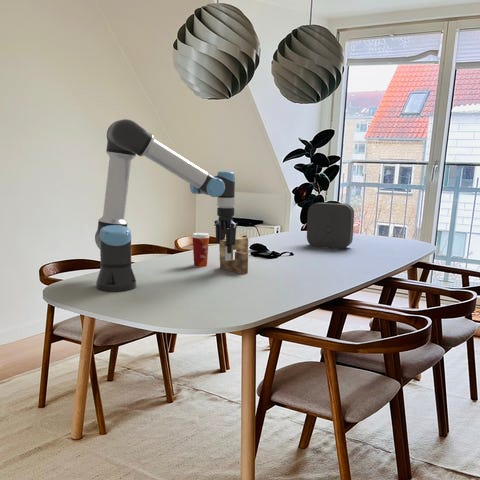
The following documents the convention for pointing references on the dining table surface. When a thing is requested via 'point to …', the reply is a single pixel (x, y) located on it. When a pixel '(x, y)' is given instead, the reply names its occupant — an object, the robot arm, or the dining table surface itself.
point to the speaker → (330, 225)
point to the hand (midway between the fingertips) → (225, 259)
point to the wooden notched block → (236, 263)
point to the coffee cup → (200, 249)
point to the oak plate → (234, 247)
